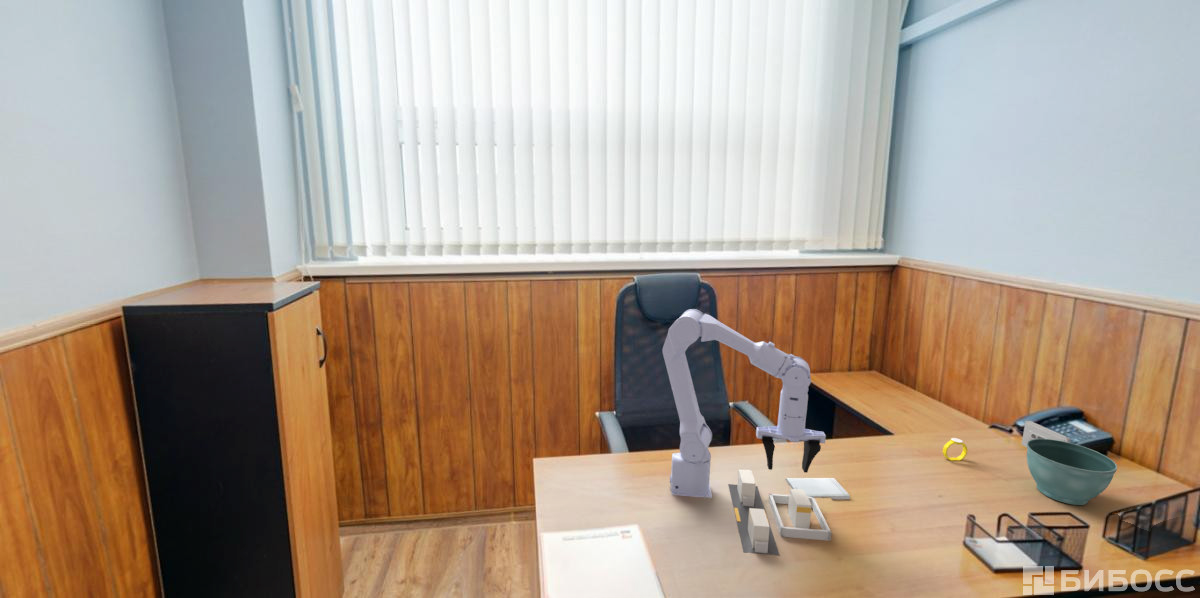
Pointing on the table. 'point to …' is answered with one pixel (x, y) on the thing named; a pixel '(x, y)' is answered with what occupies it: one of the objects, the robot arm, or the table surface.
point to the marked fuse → (799, 508)
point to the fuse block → (742, 522)
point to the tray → (799, 532)
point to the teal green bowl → (1068, 470)
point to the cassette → (1040, 433)
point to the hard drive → (819, 487)
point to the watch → (959, 442)
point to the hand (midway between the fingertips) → (787, 468)
